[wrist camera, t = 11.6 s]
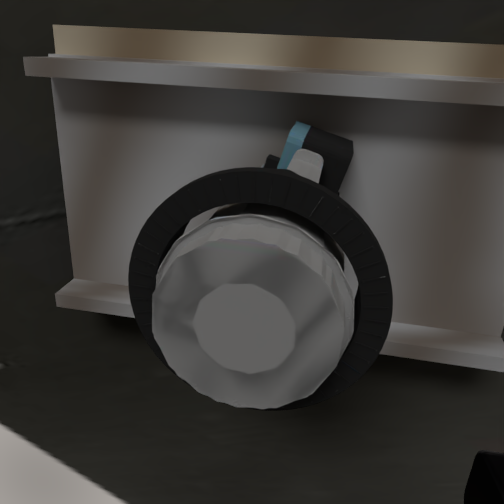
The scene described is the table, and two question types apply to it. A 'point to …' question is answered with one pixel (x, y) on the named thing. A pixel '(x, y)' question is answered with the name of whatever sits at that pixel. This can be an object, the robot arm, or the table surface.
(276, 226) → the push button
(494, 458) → the robot arm
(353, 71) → the rail board
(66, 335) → the table surface
